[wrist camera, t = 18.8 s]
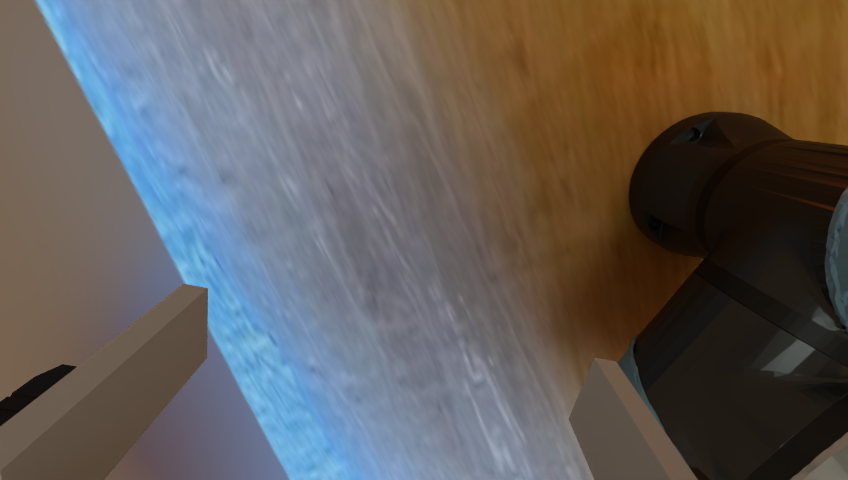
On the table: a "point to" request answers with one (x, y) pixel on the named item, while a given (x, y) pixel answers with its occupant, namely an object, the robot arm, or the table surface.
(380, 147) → the table surface
